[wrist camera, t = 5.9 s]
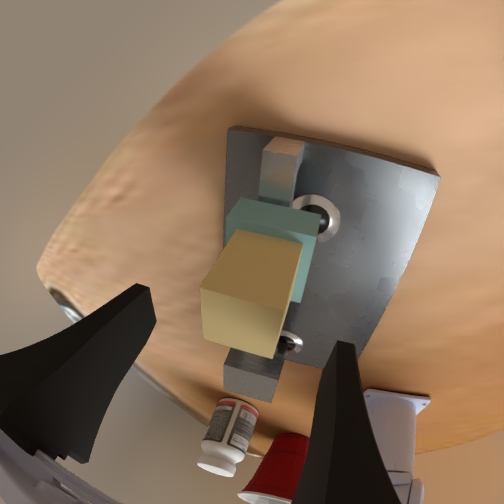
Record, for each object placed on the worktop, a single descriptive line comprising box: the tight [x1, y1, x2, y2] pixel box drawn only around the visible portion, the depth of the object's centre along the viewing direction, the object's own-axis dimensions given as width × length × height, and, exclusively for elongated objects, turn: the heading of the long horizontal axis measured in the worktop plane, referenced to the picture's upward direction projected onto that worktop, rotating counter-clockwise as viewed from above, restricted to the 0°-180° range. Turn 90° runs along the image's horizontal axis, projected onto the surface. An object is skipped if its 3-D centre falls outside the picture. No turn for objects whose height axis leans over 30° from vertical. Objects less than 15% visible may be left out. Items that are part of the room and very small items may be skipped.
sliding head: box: [200, 198, 321, 359], centre depth 15 cm, size 4×4×9 cm
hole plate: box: [223, 126, 441, 369], centre depth 21 cm, size 19×12×1 cm, turn 176°
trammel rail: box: [224, 136, 305, 403], centre depth 19 cm, size 19×4×5 cm, turn 176°
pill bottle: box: [197, 398, 258, 477], centre depth 34 cm, size 6×6×10 cm
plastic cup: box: [238, 433, 310, 504], centre depth 36 cm, size 11×11×12 cm
